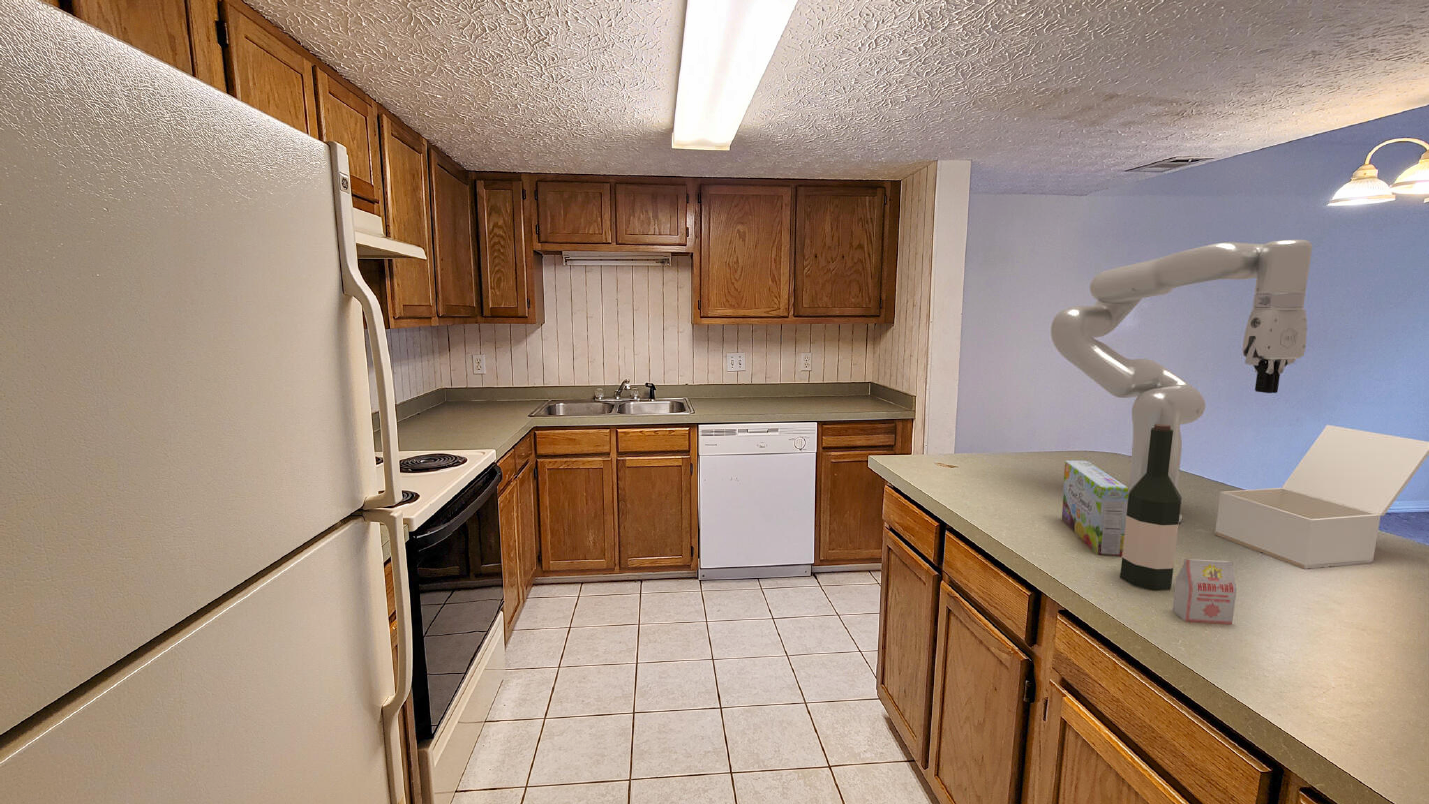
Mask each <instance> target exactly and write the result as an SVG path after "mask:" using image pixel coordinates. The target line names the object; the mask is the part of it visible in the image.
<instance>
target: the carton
mask: <svg viewBox="0 0 1429 804" xmlns="http://www.w3.org/2000/svg"><path fill="white" fill-rule="evenodd" d="M1218 499H1219V500H1218V507H1217V515H1216V516H1217V517H1216V524H1215V532H1214V535H1215V536H1217V537H1219V538H1223V539H1225V540H1227V541H1230V542H1233V543H1236V544H1238V545H1241V546H1243V547H1246V548H1248V549H1252V550H1253V551H1256V550H1257V552H1259V553H1261V552H1263V553H1262V554H1263V555H1267V556H1269V557H1272V558H1274V559H1277V560H1279V561H1282V562H1285V563H1288V564H1290V565H1292V566H1295V567H1296V568H1297V567H1298V568H1301V569H1303V570H1307V569H1308V568H1311V569H1321V567H1323V568H1330V567H1329V566H1334V567H1343V566H1354V565H1355V566H1356V565H1364V564H1373V562H1374V556H1375V553H1376V552H1375V550H1376V546H1377V539H1378V533H1379V527H1380V521H1381V517H1382V516H1381V515H1379V514H1375V513H1372V512H1368V511H1365V510H1361V509H1357V508H1354V507H1350V506H1346V505H1343V504H1339V503H1335V502H1332V501H1328V500H1325V499H1321V498H1317V497H1314V496H1310V495H1306V494H1303V493H1299V492H1295V491H1292V490H1288V489H1285V488H1282V487H1272V488H1259V489H1258V488H1257V489H1244V490H1243V489H1242V490H1241V489H1240V490H1227V491H1220V492H1219V498H1218ZM1308 570H1309V569H1308Z"/></svg>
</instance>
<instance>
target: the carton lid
mask: <svg viewBox="0 0 1429 804" xmlns="http://www.w3.org/2000/svg"><path fill="white" fill-rule="evenodd" d="M1428 457H1429V441H1426V440H1420V439H1413V438H1410V437H1409V438H1407V437H1402V436H1396V435H1389V434H1384V433H1379V432H1372V431H1367V430H1361V429H1353V428H1348V427H1342V426H1336V425H1331V424H1326V426H1325V427H1324V428H1323V430H1322V431H1321V433H1320V434H1319V436H1318V437H1317V438H1316V440H1315V441H1314V442H1313V443H1312V445H1311V447H1309V449H1308V451H1307V452H1306V453H1305V454H1304V456H1303V457H1302V459H1301V460H1300V462H1299V463H1298V464H1297V466H1296V467H1295V469H1294V470H1292V472H1291V474H1290V475H1289V477H1288V478H1287V480H1286V481H1285V482H1284V484H1283V485H1282V486H1281V488H1285V489H1288V490H1292V491H1295V492H1299V493H1303V494H1306V495H1310V496H1314V497H1317V498H1321V499H1325V500H1328V501H1332V502H1335V503H1339V504H1343V505H1346V506H1350V507H1354V508H1357V509H1361V510H1365V511H1368V512H1372V513H1375V514H1379V515H1381V517H1384V516H1385V515H1386V514H1387V512H1388V511H1389V510H1390V508H1391V507H1392V505H1393V504H1394V503H1395V502H1396V500H1397V499H1398V497H1399V496H1400V495H1401V493H1402V492H1403V490H1404V489H1405V488H1406V486H1408V484H1409V483H1410V481H1411V479H1412V478H1414V475H1415V474H1416V473H1417V472H1418V471H1419V470H1420V468H1421V466H1422V465H1423V463H1424V462H1425V461H1426V459H1428Z"/></svg>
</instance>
